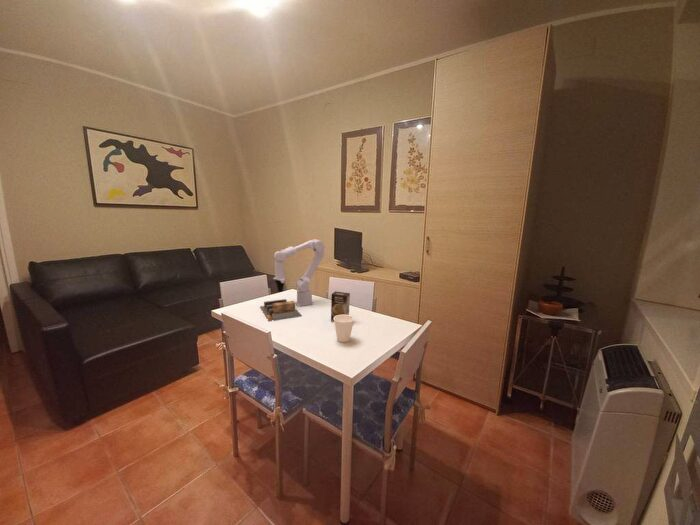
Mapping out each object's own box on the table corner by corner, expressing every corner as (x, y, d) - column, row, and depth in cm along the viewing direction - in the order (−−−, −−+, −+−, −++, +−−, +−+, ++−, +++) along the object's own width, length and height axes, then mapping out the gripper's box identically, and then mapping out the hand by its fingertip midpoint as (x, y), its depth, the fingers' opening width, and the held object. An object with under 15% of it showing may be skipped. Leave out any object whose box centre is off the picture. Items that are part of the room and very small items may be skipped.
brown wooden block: (293, 312, 167) (293, 300, 166) (295, 314, 163) (295, 302, 162) (272, 315, 161) (272, 303, 160) (274, 317, 158) (274, 305, 157)
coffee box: (330, 321, 155) (330, 293, 152) (334, 317, 161) (334, 290, 159) (346, 323, 153) (346, 295, 150) (349, 319, 159) (350, 292, 156)
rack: (289, 303, 184) (289, 298, 183) (301, 316, 162) (301, 310, 162) (259, 307, 175) (259, 302, 174) (268, 321, 153) (268, 315, 153)
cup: (342, 333, 141) (342, 312, 139) (357, 339, 135) (358, 318, 133) (328, 340, 133) (329, 318, 131) (344, 346, 127) (345, 324, 125)
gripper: (270, 268, 178) (270, 289, 180) (276, 273, 165) (276, 295, 168) (281, 268, 181) (281, 288, 184) (287, 272, 169) (288, 293, 171)
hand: (280, 291), depth 176 cm, fingers closed
